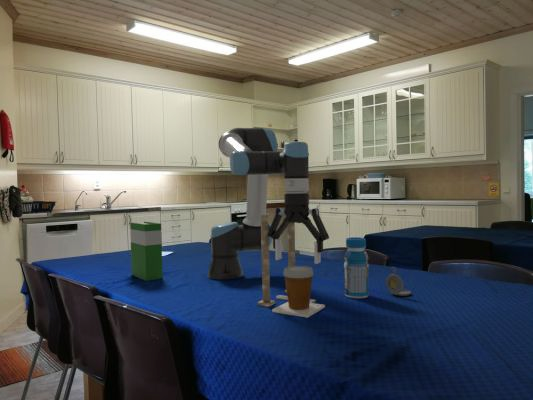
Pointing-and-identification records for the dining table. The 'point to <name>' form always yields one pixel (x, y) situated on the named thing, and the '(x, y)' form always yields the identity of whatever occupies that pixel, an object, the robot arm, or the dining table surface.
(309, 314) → the tile
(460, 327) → the dining table surface
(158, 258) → the hardback book
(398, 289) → the pocket watch
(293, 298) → the disposable coffee cup
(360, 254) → the beverage bottle
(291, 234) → the gate posts
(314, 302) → the guide strip
